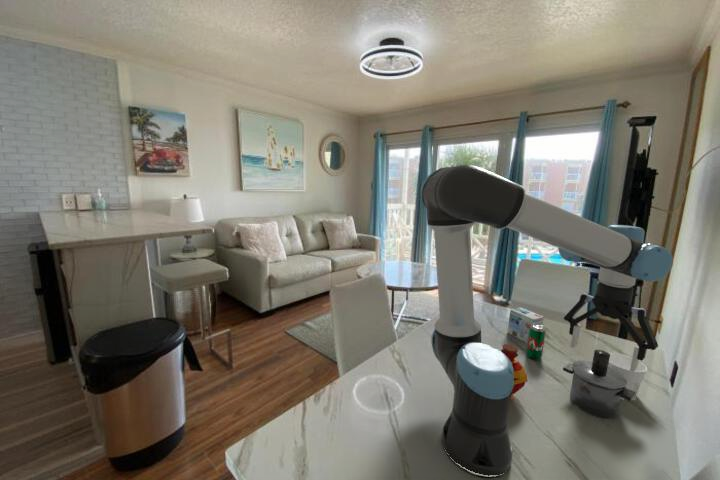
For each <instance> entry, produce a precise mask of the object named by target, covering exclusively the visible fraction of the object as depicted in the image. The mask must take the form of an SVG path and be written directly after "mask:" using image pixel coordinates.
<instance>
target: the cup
mask: <svg viewBox="0 0 720 480" xmlns="http://www.w3.org/2000/svg"><path fill="white" fill-rule="evenodd" d="M608 353H609V354H610V358H609V364H608V367H610V368H612V369H614V370H615V371H617V372H619V373H620V374H621V375H623V376H624V377H625V379H626V381H627V383H626V387H625V388H627V389H629V390H632V391H634V392H636V396H635V397H634V398H633V399H632V400H631V401H634V402H635V401H636V399H637V396H638V393H639V390H640V388H641V384H642V382H643V381H644V378H645V375H646V373H647V371H648V367H647V366H646V365H645V364H644V363H643V362H642V361H641V360H639V361H638V365H637V369H636V370H635V371H634V372H633V371H630V367H631V362H632V357H631V356H629V355H625V354H621V353H617V352H608ZM621 400H625V399H624V398H622V397H621Z"/></svg>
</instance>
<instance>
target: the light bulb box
mask: <svg viewBox="0 0 720 480" xmlns="http://www.w3.org/2000/svg"><path fill="white" fill-rule="evenodd" d="M544 317H545V316H544V315H540V314H538V313H535V312H533V311H531V310H528V309H526V308H523V307H517V308H511V309H510V311H509V318H508V326H507V330H506V331H507V333H508V334H509V335H511V336H512V337H514V338H516V339H518V340H520V341H522V342H524V343H525V344H527V341H528V334H529V327H530V326H531V324H540V325H542V326H544V319H545V318H544Z"/></svg>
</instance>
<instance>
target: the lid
mask: <svg viewBox="0 0 720 480" xmlns="http://www.w3.org/2000/svg"><path fill="white" fill-rule="evenodd" d="M593 351H594V352H593V358H592V361H591V360H576V361H574V362H573V363H572V365H573V366H572V370H573V372H574V373H575V374H576V375H577V376H578V377H580V378H581V379H583V380H585V381H587V382H589V383H591V384H593V385H596V386H599V387H602V388H606V389H612V390H621V389H624V388H625V387H626V383H627V381H626V379H625V377H624V376H623V375H621V374H620V373H619V372H617V371H615V370H614V369H612V368H610V367H608V364H609V358H610V354H609V353H610V352H608V351H605V350H603V349H595V350H593ZM574 373H573V374H574Z"/></svg>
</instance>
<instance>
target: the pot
mask: <svg viewBox="0 0 720 480" xmlns="http://www.w3.org/2000/svg"><path fill="white" fill-rule="evenodd" d="M572 366H573V363H570V362H568V363H567V364H565V365H564V366H563V368H562V371H563V372H566V373H568V374H571V375H572V379H571V387H570V393H569V400H570V401H571V403H573V405H574V406H576V408H578V409H579V410H581V411H583V412H584V413H586V414H588V415H591V416H593V417H597V418H600V419H606V420H607V419H608V420H609V419H615V418H617V417H618V414H619V410H620V405H621V400H622V399H621V397H622V398H624V399H623V400H627V401H628V402H631V401H633V400H632V399H633V398H634V397H635V396H636V392H634V391H632V390H629V389H627V388H624V389H621V390H612V389H606V388H602V387H599V386H596V385H593V384H591V383H589V382H587V381H585V380H583V379H581V378H580V377H578V376H577V375H576V374H575V373H574V372H573V370H572ZM636 397H637V396H636Z"/></svg>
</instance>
